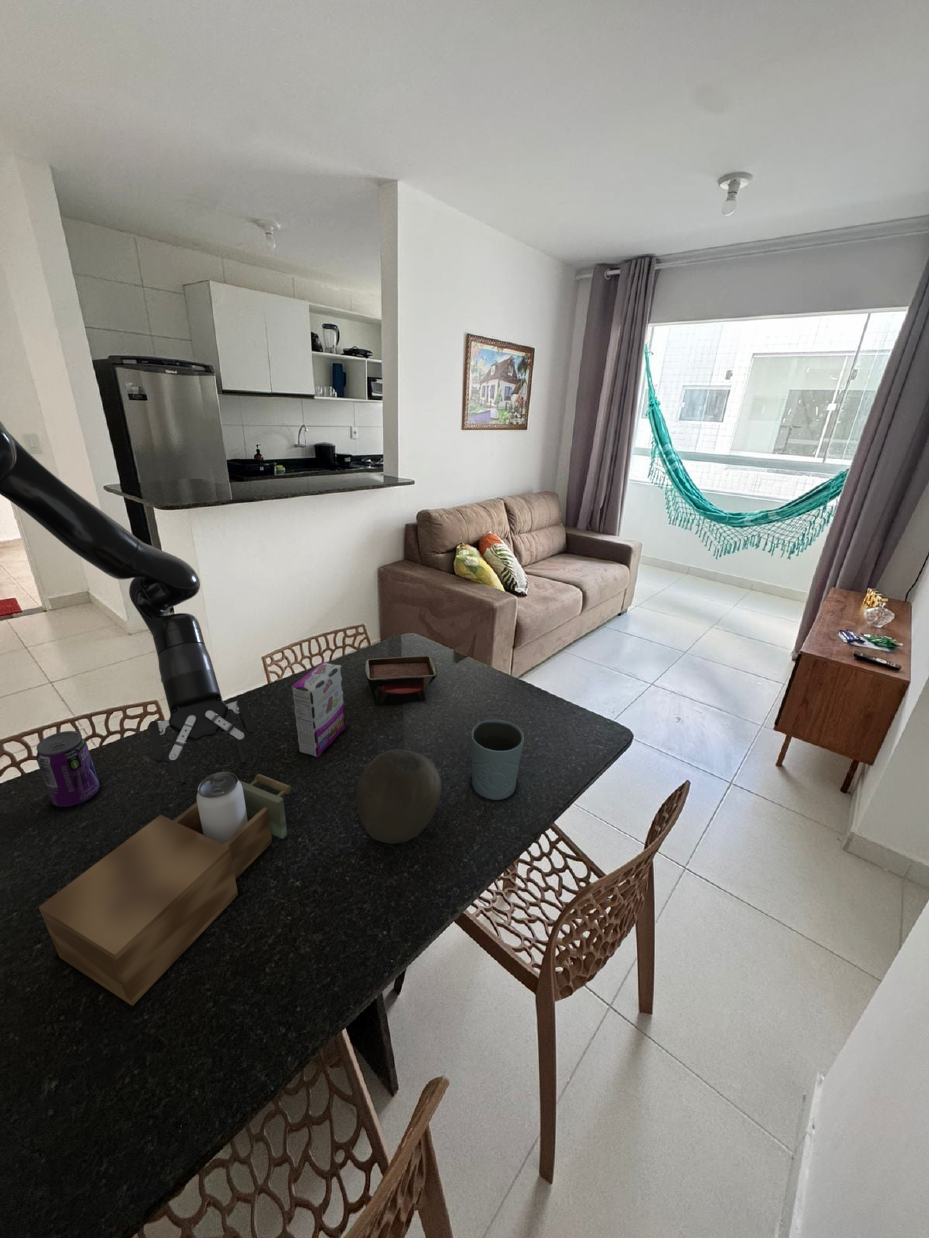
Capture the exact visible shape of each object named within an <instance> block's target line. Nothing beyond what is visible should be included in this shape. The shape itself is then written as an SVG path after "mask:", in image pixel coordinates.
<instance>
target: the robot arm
mask: <svg viewBox="0 0 929 1238" xmlns="http://www.w3.org/2000/svg"><path fill="white" fill-rule="evenodd" d="M0 495H1V496H2V497H4V498H5V499H7V500H8V501H9V502H11V503H12V504H14V505H15V506H16V507H18V508H19V509H20V510H22V511H23V512H25V513H26V514H27V515H28V516H30V517H31V518H32V519H34V520H35V521H36V522H37V523H38V524H39V525H40V526H41V527H43V528H44V529H45V530H46V531H47V532H49V533H50V534H51V535H52V536H54V538H56V539H57V540H58V541H59V542H60V543H62V544H63V545H64V546H65V547H67V548H68V549H69V550H71V551H72V552H73V553H74V554H76V555H78V556H79V557H80V558H82V559H83V560H84V561H86V562H88V563H89V564H91V565H92V566H94V567H95V568H96V569H98V570H100V571H101V572H102V573H104V574H106V575H108V576H109V577H111V578H113V579H114V580H115V579H116V580H120V581H121V580H129V579H132V580H131V582H130V584H129V587H128V594H129V598H130V601H131V603H132V605H133V606H134V608H135V610H137V612H138V614H139V615H140V617H141V619H142V620H143V622H144V624H145V625H146V627H147V628H148V631H149V632H150V634H151V636H152V639H153V643H154V647H155V652H156V655H157V661H158V670H159V675H160V682H161V684H162V687H163V691H164V695H165V699H166V702H167V707H168V711H169V718H168V719H165V720H161V721H156V720H151V721H150V722H149V723H148V729H149V736H150V742H151V748H152V754H153V759H154V762H155V763H158V764H159V763H167V764H169V765H170V770H171V773H172V778H173V781H174V783H175V784H179V783H180V787H183V786H186V785H187V780H186V775H185V771H184V768H183V764H182V759H181V758H180V757H181V754H182V752H183V750H184V749H185V747H186V744H187V742H188V741H193V742H196V741H199V740H201V739H203V738H205V737H206V738H208V737H212V736H216V735H217V734H218V733H221V734H222V735H223V736H225V737H228V738H229V739H231V740H233V741H235V743H234V747H235V751H236V755H237V758H238V761H239V765H240V767H243V766H246V765H247V761H249V759H250V753H249V749H248V745H247V742H246V739H247V738H248V737H250V736H252V735H253V733H254V731H255V730H256V727H255V724H254V721H253V719H252V715H251V713H250V710H249V708H248V704H247V702H246V700H245V698H243V697H239V698H237V700H235V701H232V702H228V703H225V701H224V700H223V698H222V694H221V691H220V687H219V683H218V680H217V676H216V672H215V668H214V665H213V662H212V659H211V656H210V653H209V651H208V648H207V646H206V643H205V640H204V636H203V632H202V629H201V626H200V622H199V620H198V619H197V617H196V616H195V615H193V614H191V613H188V612H178V613H170V609H171V608H173V607H176V606H178V605H180V604H182V603H184V602H186V601H188V600H190V599H193V598H194V597H195V596H196V595H198V593H199V591H200V588H201V581H200V577H199V575H198V573H197V572H196V570H195V569H194V568H193V567H192V566H191V565H190V564H189V563H188V562H187V561H185V560H183V559H182V558H179V557H178V556H176V555H173V554H171V553H168V552H166V551H164V550H162V549H159V548H157V547H155V546H153V545H150V544H147V543H146V542H144V541H142V540H141V539H139V538H138V537H136V536H135V535H134V534H133V533H131V532H130V531H129V530H127V529H126V528H125V527H123V526H122V525H121V524H120V523H119V522H117V521H116V520H114V519H113V518H112V517H111V516H109V515H108V514H107V513H106V512H104V511H103V510H101V509H99V508H98V507H97V506H95V505H94V504H92V503H91V501H88V500H87V499H86V498H85V497H83V496H81V495H80V494H79V493H78V492H76V491H75V490H74V489H72V488H71V487H69V485H67V484H66V483H65V482H63V481H62V480H60V479H59V478H58V477H57V476H56V475H54V474H53V473H52V472H51V471H50V470H49V469H47V468H46V467H45V466H44V465H43V464H42V463H41V462H39V460H37V458H35V457H34V456H33V455H32V454H31V453H29V452H28V450H27V449H26V448H25V447H23V445H21V443H20V442H19V441H18V440H17V439H16V438H15V437H14V436H13V435H12V434H11V433H10V432H9V430H7V428H6V427H5V425H4V423H3V422H2V421H1V420H0ZM230 711H231V712H232V713H233V714H234V715H239V720H240V721H241V725H242V728H243V729H242V730H240V729H238V728H236V727H235V726H234V725H233V723H230V722H229V721H227V720H226V717H227V715H228V712H230ZM168 728H170V729H171V730H173V731H174V732H176V733H177V734H178V735H177V738H176V739H175V742H174V744H173V746H172V748H171V750H170V752H168V751H167V752H165V751H163V744H162V739H161V738H162V737H164V735H166V731H167V729H168Z"/></svg>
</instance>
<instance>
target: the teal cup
mask: <svg viewBox="0 0 929 1238" xmlns="http://www.w3.org/2000/svg"><path fill="white" fill-rule="evenodd" d="M470 741H471V744H470V746H471V748H470V749H471V751H470V752H471V777H472V779H471V780H472V781H471V784H472V788H473V790H474V792H475V793H476V794H478V795H479V796H481V797H482V798H485V799H489V800H493V801H500V800H505V799H507V798H509V797H510V796H512V795H513V793H514V792H515V790H516V786H517V777H518V772H519V766H520V761H521V756H522V753H523V747H524V741H525V736H524V733H523V730H522V729H521V728H520V727H519V726H518V725H516V724H514V723H512V722H510V721H508V720H503V719H486V720H482V721H480V722H478V723H477V724H475V725H474V726H473V728H471V732H470Z"/></svg>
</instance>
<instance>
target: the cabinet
mask: <svg viewBox="0 0 929 1238" xmlns="http://www.w3.org/2000/svg"><path fill="white" fill-rule="evenodd" d="M238 895H239V891H238V887H237V881H236V880H235V875H234V870H233V864H232V859H231V853H230V847H228V846H226V845H223V844H221V843H219V842H217V841H215V840H213V839H211V838H209V837H206V836H204V835H202V834H200V833H198V832H196V831H194V830H192V829H189V828H187V827H185V826H183V825H181V824H179V823H177V822H175V821H173V820H172V819H170V818H168V817H166V816H164V815H162V814H159V815H158V816H157V817H155V818H154V819H153V820H152V821H150V822H148V823H147V824H146V825H145V826H144V827H142V828H141V829H139V830H138V831H137V832H136V833H134V834H133V835H132V836H131V837H129V838H128V839H126V840H125V841H123V842H122V843H121V844H120V845H118V846H117V847H116V848H114V849H113V850H112V851H111V852H109V853H108V854H106V855H105V856H104V857H102V858H101V859H100V860H98V861H97V862H96V863H95V864H92V866H91V867H89V868H88V869H87V870H85V871H84V872H83V873H81V874H80V875H79V876H77V877H76V878H75V879H73V880H72V881H71V882H70V883H68V884H67V885H65V886H64V887H63V888H62V889H61V890H59V891H57V892H56V893H55V894H54V895H52V896H51V897H50V898H48V899H47V900H46V901H44V902H43V903H41V905H39V906H38V909H39V911H40V915H41V916H42V919H43V921H44V923H45V926H46V929H47V931H48V933H49V936H50V938H51V940H52V943H53V946H54V948H55V950H56V952H57V954H58V957H59V958H60V959H61V960H63V962H66V963H67V964H69V965H70V966H72V967H73V968H75V969H76V970H77V971H79V972H81V973H82V974H83V975H85V976H87V977H88V978H89V979H91V980H92V981H94V982H95V983H97V984H98V985H100V986H101V987H103V988H105V989H106V990H107V991H109V992H111V993H112V994H114V995H115V996H117V997H118V998H120V999H121V1000H122V1001H124V1002H126V1003H127V1004H129V1005H130V1006H131V1007H133V1006H134V1005H135V1004H136V1003H138V1001H139V1000H140V999H141V998H142V997H143V996H144V995H145V993H147V992H148V991H149V989H150V988H151V987H152V986H154V984H155V983H156V982H157V981H158V980H159V979H160V978H161V977H162V976H163V975H164V974H165V973H166V971H168V969H169V968H170V967H171V966H172V965H173V964H174V963H175V962H176V961H177V960H178V959H179V958H180V957H181V956H182V955H183V954H184V952H185V951H186V950H187V949H188V948H190V946H191V945H192V944H193V943H194V942H195V941H196V940H197V939H198V938H199V936H200V935H201V934H203V933H204V931H205V930H206V929H207V928H209V926H210V925H211V924H212V923H213V922H214V921H215V920H216V919H217V917H219V916H220V915H221V914H222V913H223V911H224V910H225V909H226V908H227V907H228V906H229V905H230V904H231V903H232V902H233V901H234V900H235V899H236V897H237V896H238Z"/></svg>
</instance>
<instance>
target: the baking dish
mask: <svg viewBox="0 0 929 1238" xmlns="http://www.w3.org/2000/svg"><path fill="white" fill-rule="evenodd" d="M363 666H364V676H365V678H366V681H367V683H368V686H369V688H370V690H371V693H372V695H373V698H374V701H375V703H376V705H377V706H391V705H400V704H409V703H417V702H424V701H426V700H427V698H426V694H427V691H428V688H429V686H430V685H431V683H432V682H433V681H434V680H435V679H436V678H437V677H438V670H437V664H436V663H435V661H434V659H433V658H432V657H431V656H430V655H428V654H427V655H412V656H411V655H410V656H394V657H380V658H379V657H376V658H369V659H366V661H365V662H364V665H363Z"/></svg>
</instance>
